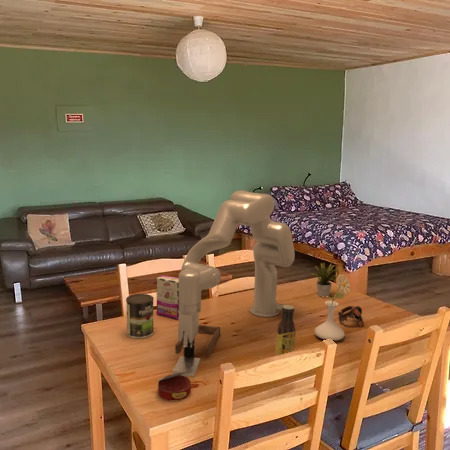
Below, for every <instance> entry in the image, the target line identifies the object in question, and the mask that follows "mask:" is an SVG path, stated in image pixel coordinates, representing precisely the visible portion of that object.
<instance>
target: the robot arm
mask: <svg viewBox="0 0 450 450" xmlns="http://www.w3.org/2000/svg"><path fill="white" fill-rule="evenodd" d="M274 209H275V200H274V198H273V197H272V196H271V195H270V194H267V193H258V192H252V191H246V190H243V189H241V190H235V191H233V193H232V194H231V195H230V199H228V200H225V201H223V202H222V203H221V204H220V207H219V209H218V210H217V213H216V216H215V218H214V221H213V223H212V225H211V226H210V230H209V232H208V233H207V234H206V236H204V237H203V238H202V239H200V240H198V242H196V243H195V244H194V245H193V246H192V247H191V248H190V249H189V251H188V252H187V254H186V256H185V259H184V261H183V262H182V266H181V268H180V272H179V273H178V278H179V308H178V309H179V312H180V317H179V320H178V330H177V331H178V334H177V342H178V341H181V340H182V339H183V337H184V343H183V347H184V348H183V347H182V348H183V351H184V352H183V357H192V358H195V351H196V350H195V343H196V340H195V338H196V336H197V335H198V334H199V333H198V330H199V325H200V317H199V315H200V313H201V312H202V291H203V290H209V289H213V288H215V287H216V286H218V284H219V283H220V282H221V279H222V275H221V271H220V270H219V269H218V268H217V267H214V266H211V265H208V264H207V265H206V264H203V263H200V261H201V260H202V258H203V257H204V256H206V255H207V254H208V253H211V252H213V251H217V250H220V249H223V248H226V247H228V246H229V245H231V243H232V240H233V237H234V235H235V233H236V231H237V229H238V226H240V225H241V226H246V227H250V231H251V234H252V235H251V236H252V237H253V239H254V241H256V243H255V244H254V246H253V250H252V251H253V260H254V290H253V291H254V294H253V305H251V306H250V308H249V311H250V313H251V314H252V315H254V316H257V317H262V318H272V317H275V316H277V315H279V313H280V311H282V306H283V305H284V304H279V303H278V300H277V287H278V286H277V285H278V270H277V268H276V266H277V267H285V268H287V267H291V266H292V265H293V264H294V262H295V255H296V253H295V252H296V251H295V247H294V242H293V236H292V235H293V234H292V232H291V228H290V227H289V226H288V225H287V224H286V223H284V222H279V221H274V220H272V219H271V217H270V216H271V215H272V213H273V212H274Z"/></svg>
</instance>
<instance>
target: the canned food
mask: <svg viewBox="0 0 450 450" xmlns="http://www.w3.org/2000/svg"><path fill="white" fill-rule="evenodd" d="M186 373H187V372H186ZM186 373H175V374H173V373H172V374H168V375H166V376H163V377H161V378H159V379H158V380H157V382H158V383H157V388H158V390H157V392H158V396H159V397H160V398H161V399H162V400H165V399H166V401H170V400H178V401H181V399H182V400H184V399H186V398H188V397H189V396H190V395H191V393H190V392H191V391H192V390H191V389H192V388H191V386H192V382H191V380H190V378H189V377H186V376H182V374H186ZM189 394H190V395H189ZM188 395H189V396H188ZM187 396H188V397H187Z"/></svg>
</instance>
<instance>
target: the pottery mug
mask: <svg viewBox="0 0 450 450" xmlns="http://www.w3.org/2000/svg"><path fill="white" fill-rule="evenodd" d="M340 310H341V311H339V312H338V313H337V316H338V320H339V321H341V320H342V321H344V322H348V318H350V319H355V320H359V322H358V325H359V327H360V326H362V327H363V326H364V320H363V317H362V313H363V309H362V308H361V306H355V307H354V306H353V305H348V306H345V307H344V308H342V309H340Z"/></svg>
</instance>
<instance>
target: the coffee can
mask: <svg viewBox="0 0 450 450" xmlns="http://www.w3.org/2000/svg"><path fill="white" fill-rule="evenodd" d="M154 300H155V299H154V297H153V295H151V294H147V293H146V294H145V293H136V294H131V295H129V296H127V297H126V298H125V302H126V335H127V336H128V337H129V338H131V339H137V340H138V339H141V340H142V339H146V338H150V337H151V336H153V335H154Z"/></svg>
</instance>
